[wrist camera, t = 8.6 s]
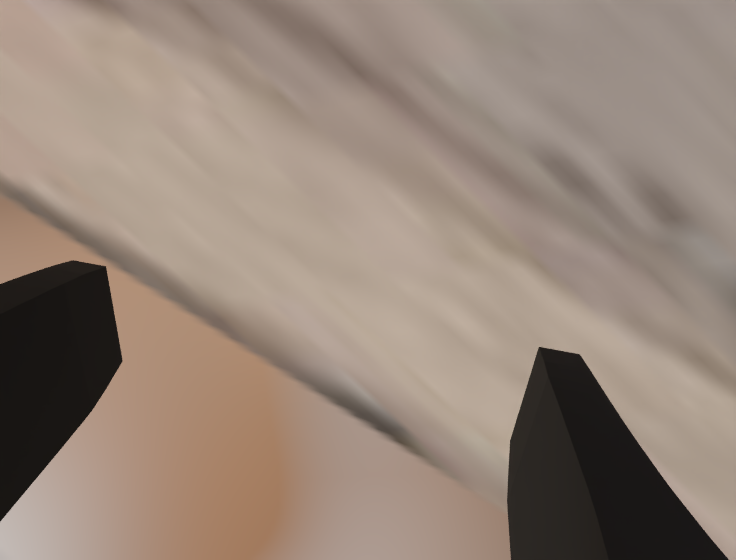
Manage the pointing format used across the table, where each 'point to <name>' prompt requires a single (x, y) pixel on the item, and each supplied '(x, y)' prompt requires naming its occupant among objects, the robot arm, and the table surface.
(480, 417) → the table surface
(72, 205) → the table surface
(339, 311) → the table surface
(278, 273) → the table surface
